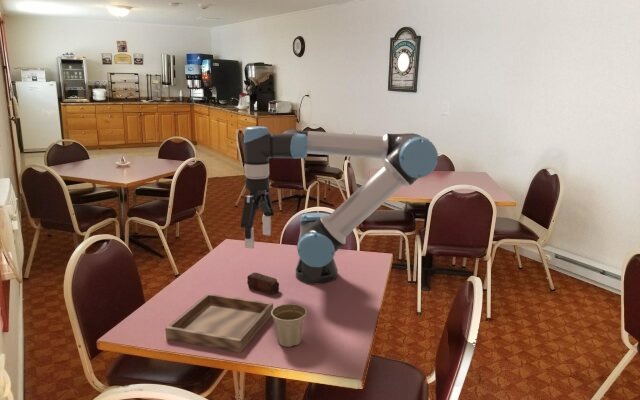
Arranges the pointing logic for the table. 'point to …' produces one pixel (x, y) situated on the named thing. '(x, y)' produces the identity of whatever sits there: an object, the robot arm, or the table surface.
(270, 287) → the brick
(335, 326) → the table surface
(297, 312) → the flower pot
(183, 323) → the tray
